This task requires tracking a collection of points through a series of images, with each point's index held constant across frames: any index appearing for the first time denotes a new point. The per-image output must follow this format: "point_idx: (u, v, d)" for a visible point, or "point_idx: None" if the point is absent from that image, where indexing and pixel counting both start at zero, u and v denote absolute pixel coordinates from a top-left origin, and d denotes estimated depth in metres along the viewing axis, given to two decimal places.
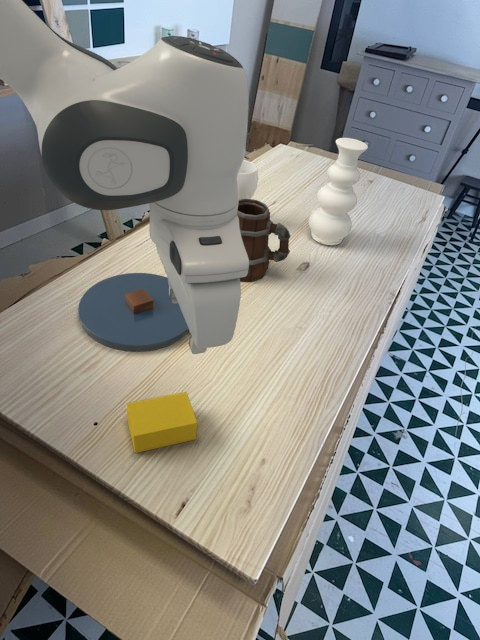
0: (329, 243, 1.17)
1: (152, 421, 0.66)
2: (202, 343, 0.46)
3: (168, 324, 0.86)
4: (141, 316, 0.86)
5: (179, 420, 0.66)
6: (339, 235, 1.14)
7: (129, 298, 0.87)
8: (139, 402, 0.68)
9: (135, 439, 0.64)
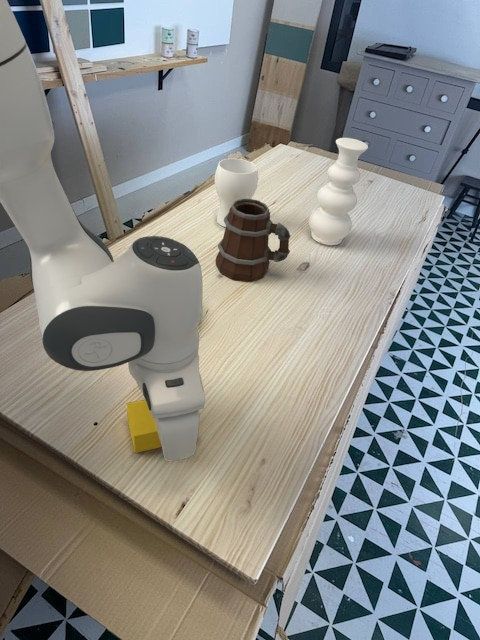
0: (329, 243, 1.17)
1: (152, 421, 0.66)
2: (169, 459, 0.57)
3: None
4: None
5: None
6: (339, 235, 1.14)
7: None
8: (139, 402, 0.68)
9: (135, 439, 0.64)
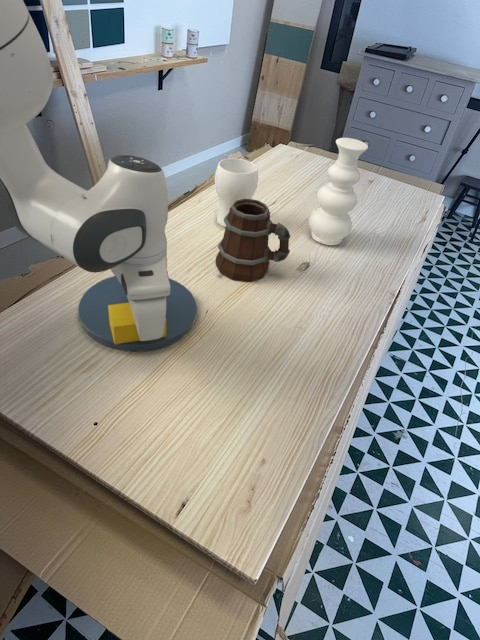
0: (329, 243, 1.17)
1: (129, 317, 0.80)
2: (143, 337, 0.72)
3: (168, 324, 0.86)
4: None
5: None
6: (339, 235, 1.14)
7: None
8: (118, 304, 0.82)
9: (114, 330, 0.78)
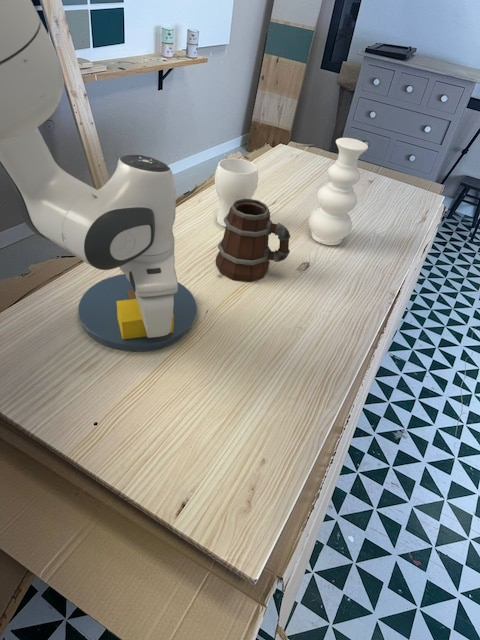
0: (329, 243, 1.17)
1: (137, 313, 0.81)
2: (150, 334, 0.73)
3: None
4: None
5: None
6: (339, 235, 1.14)
7: (132, 294, 0.88)
8: (127, 300, 0.83)
9: (123, 325, 0.79)
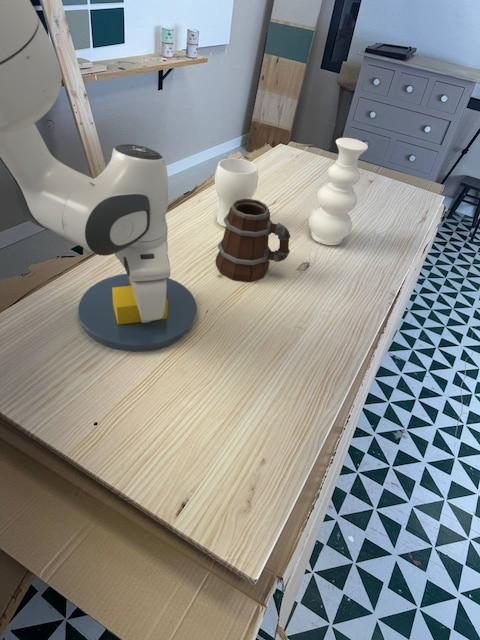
0: (329, 243, 1.17)
1: (132, 299, 0.83)
2: (144, 318, 0.76)
3: (168, 324, 0.86)
4: None
5: None
6: (339, 235, 1.14)
7: (129, 282, 0.91)
8: (122, 287, 0.86)
9: (118, 310, 0.82)
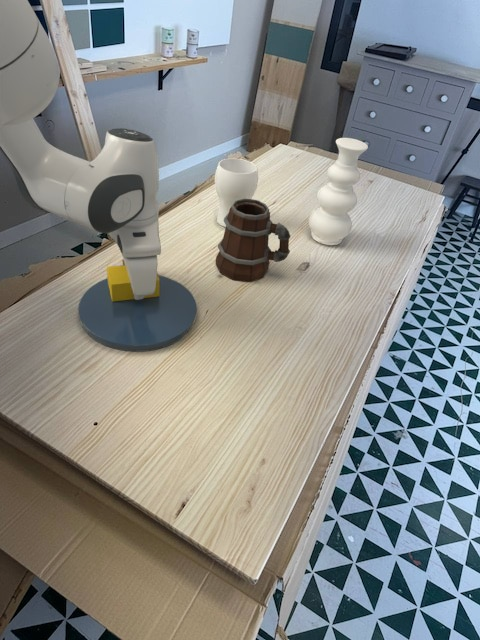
0: (329, 243, 1.17)
1: (125, 277, 0.88)
2: (136, 293, 0.80)
3: (168, 324, 0.86)
4: (141, 316, 0.86)
5: None
6: (339, 235, 1.14)
7: None
8: (116, 266, 0.90)
9: (112, 287, 0.86)
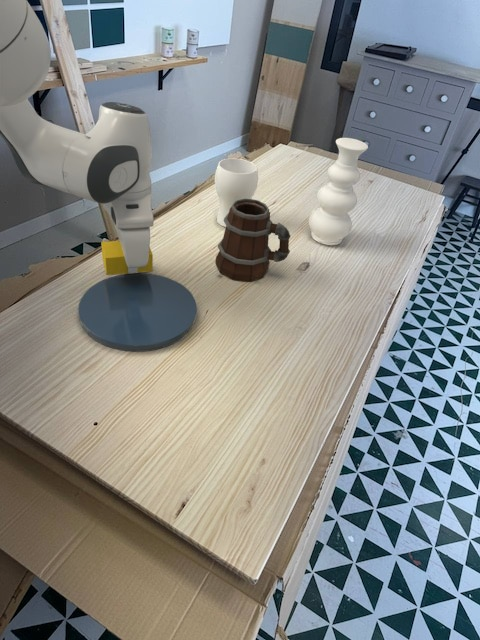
0: (329, 243, 1.17)
1: (119, 251, 0.90)
2: (130, 264, 0.83)
3: (168, 324, 0.86)
4: (141, 316, 0.86)
5: None
6: (339, 235, 1.14)
7: None
8: (110, 242, 0.93)
9: (106, 261, 0.89)
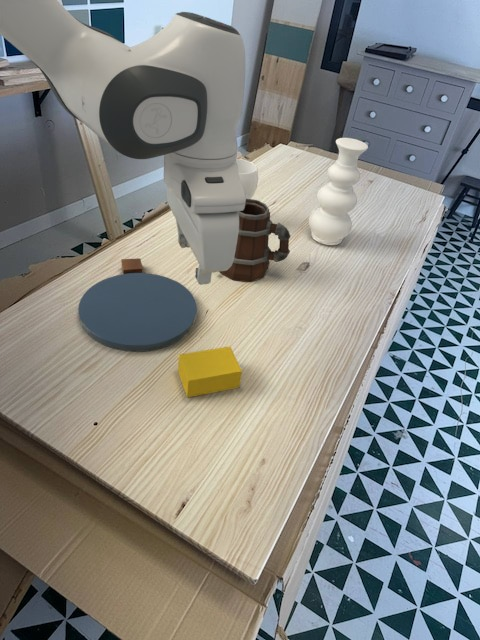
0: (329, 243, 1.17)
1: (203, 369, 0.74)
2: (208, 267, 0.56)
3: (168, 324, 0.86)
4: (141, 316, 0.86)
5: (225, 369, 0.75)
6: (339, 235, 1.14)
7: (123, 263, 0.98)
8: (190, 354, 0.77)
9: (189, 384, 0.73)
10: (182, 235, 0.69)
